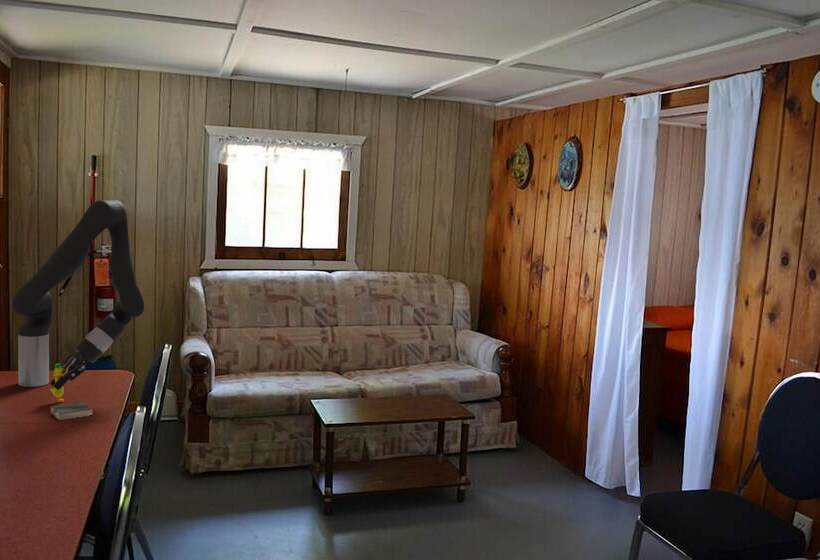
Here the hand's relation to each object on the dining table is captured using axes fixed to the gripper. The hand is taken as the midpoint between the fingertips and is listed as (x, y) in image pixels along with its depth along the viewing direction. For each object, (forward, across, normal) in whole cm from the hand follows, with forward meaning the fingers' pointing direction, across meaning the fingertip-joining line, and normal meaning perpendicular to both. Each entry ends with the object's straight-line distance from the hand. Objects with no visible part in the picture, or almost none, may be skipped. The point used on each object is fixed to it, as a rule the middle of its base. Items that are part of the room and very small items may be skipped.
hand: (53, 386), depth 219 cm
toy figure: (+2, 0, +5) cm, 6 cm away
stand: (+3, +15, +4) cm, 16 cm away
